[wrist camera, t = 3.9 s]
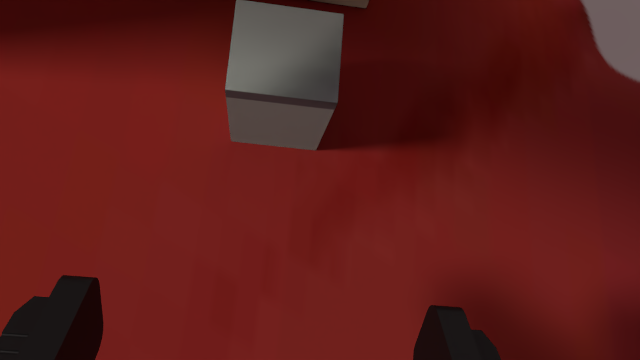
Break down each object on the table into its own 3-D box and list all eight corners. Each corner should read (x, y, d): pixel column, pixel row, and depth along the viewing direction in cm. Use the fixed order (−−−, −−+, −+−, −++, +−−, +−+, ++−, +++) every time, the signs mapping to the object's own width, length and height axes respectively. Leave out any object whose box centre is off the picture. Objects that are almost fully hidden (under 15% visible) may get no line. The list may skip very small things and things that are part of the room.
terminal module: (231, 141, 27) (225, 89, 20) (239, 70, 28) (236, -1, 21) (316, 150, 28) (337, 102, 21) (321, 81, 29) (343, 14, 22)
